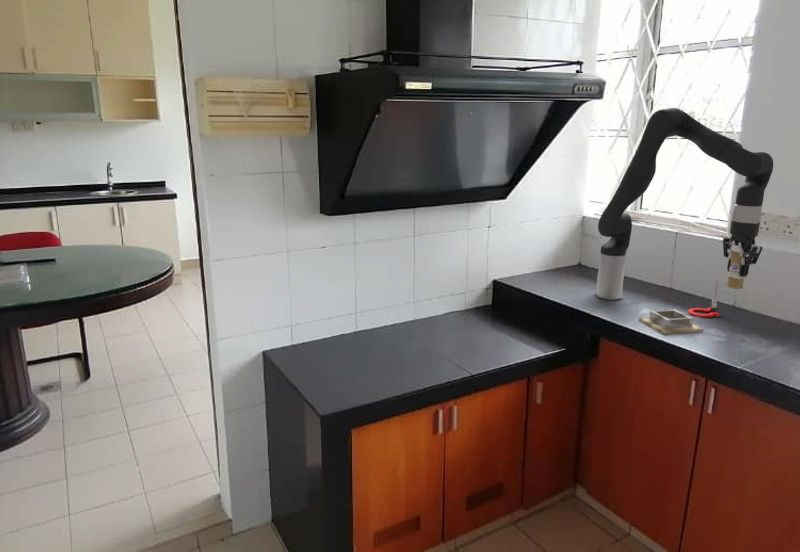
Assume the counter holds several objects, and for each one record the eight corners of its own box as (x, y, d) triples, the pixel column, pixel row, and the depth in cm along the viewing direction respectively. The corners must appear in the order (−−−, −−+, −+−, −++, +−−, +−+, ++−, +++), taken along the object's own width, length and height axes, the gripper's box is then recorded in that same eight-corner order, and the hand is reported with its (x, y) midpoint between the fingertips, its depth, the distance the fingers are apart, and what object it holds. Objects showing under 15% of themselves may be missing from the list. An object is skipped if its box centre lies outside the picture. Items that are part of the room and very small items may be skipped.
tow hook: (694, 318, 201) (721, 318, 200) (697, 283, 198) (724, 282, 197) (683, 311, 209) (710, 310, 209) (686, 277, 206) (713, 276, 205)
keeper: (639, 320, 198) (640, 309, 197) (675, 317, 201) (677, 306, 200) (663, 334, 185) (665, 323, 184) (702, 331, 187) (704, 320, 186)
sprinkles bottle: (725, 287, 179) (731, 245, 175) (728, 284, 182) (734, 243, 179) (741, 290, 176) (748, 247, 173) (744, 287, 180) (751, 245, 176)
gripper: (718, 216, 180) (710, 268, 184) (753, 224, 166) (743, 281, 171) (739, 215, 181) (730, 267, 186) (775, 223, 167) (765, 279, 172)
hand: (737, 273), depth 178 cm, fingers closed on sprinkles bottle, 4 cm apart
